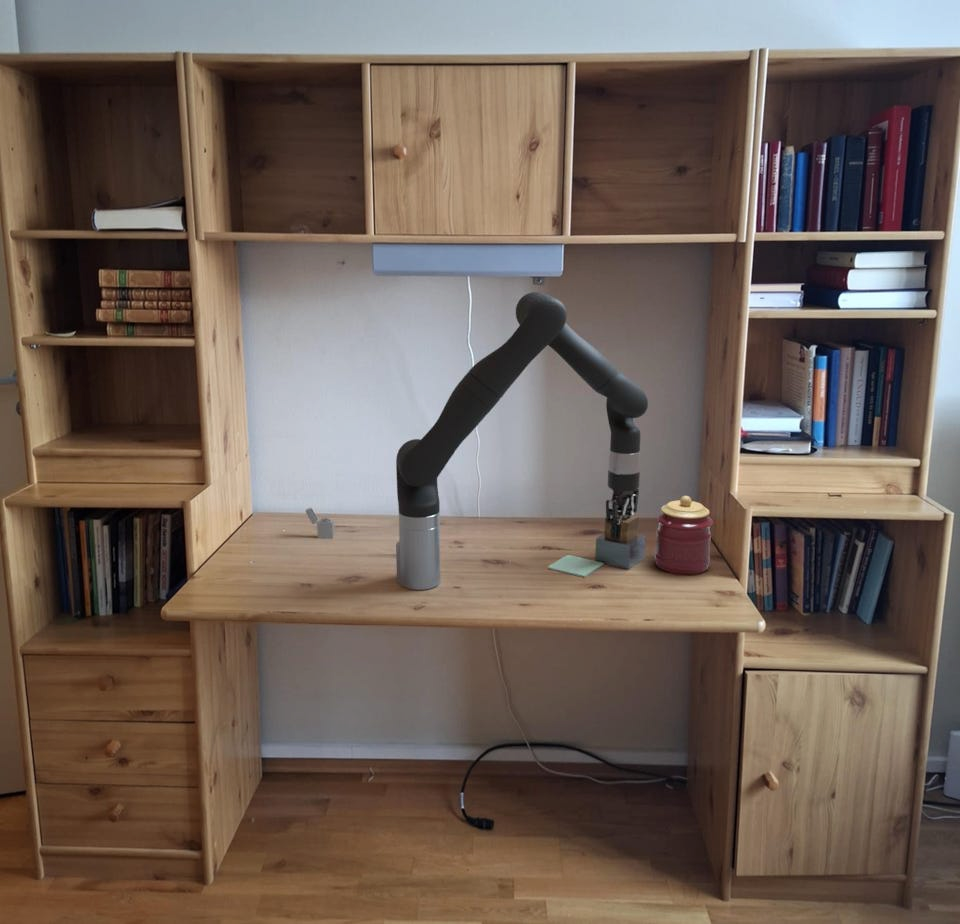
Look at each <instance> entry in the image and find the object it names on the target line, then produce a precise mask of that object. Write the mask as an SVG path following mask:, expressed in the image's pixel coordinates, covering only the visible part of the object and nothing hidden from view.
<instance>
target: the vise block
mask: <svg viewBox="0 0 960 924" xmlns="http://www.w3.org/2000/svg"><path fill="white" fill-rule="evenodd" d="M618 516H619V515H618ZM627 519H628V515H624V516H623V517H622V520H624V521H626V520H627ZM645 550H646V535H645V534H642V533H638V534H637V536H636V537H635V538H634V539H632V540H631V541H629V542H628V543H626V542H621V541H616V540H611V539H606V538H605V532H604V533H603V534H601V535H600V536H598V537H596V538H595V560H594V561H597V562H602V563H604V565H609V566H612V567H617V568H621V569H626V570H630V569H632V568H633V567H635V566H636V565H637V564H639V563H640V562H642V561H643V560H644V559H645V552H646V551H645Z"/></svg>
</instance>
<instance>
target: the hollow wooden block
mask: <svg viewBox="0 0 960 924" xmlns="http://www.w3.org/2000/svg"><path fill="white" fill-rule="evenodd" d="M625 515H628V514H625ZM610 517H611V515H610ZM620 525H621V528H620V539H618V540H616V539H612V538H611V524H610V523H607V522H606V518H605V520H604V533H605V538H606V539H611V540H616V541H621V542H626V543H628V542H629V541H631V540H632V539H634V538H635V537H636V536H637V534H639V533H638V531H639V515H638V516H637V515H634V516H633V515H628V519H627V520H626V521H624V520H621V524H620Z"/></svg>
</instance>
